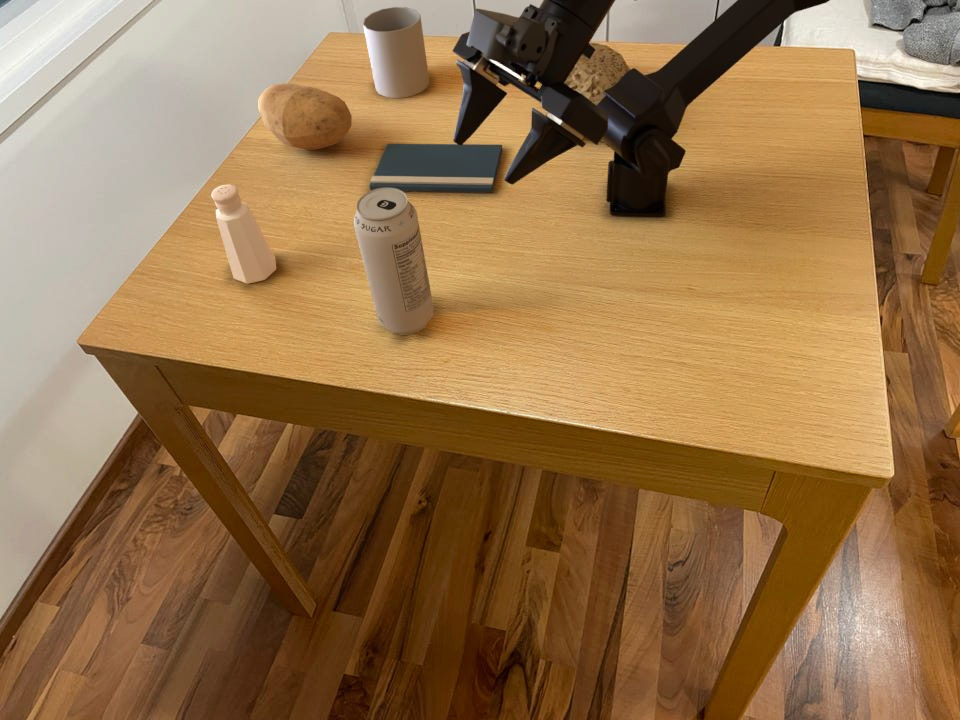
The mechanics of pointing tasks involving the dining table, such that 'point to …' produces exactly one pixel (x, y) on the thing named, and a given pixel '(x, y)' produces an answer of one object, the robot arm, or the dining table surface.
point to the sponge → (597, 73)
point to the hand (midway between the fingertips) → (481, 162)
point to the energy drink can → (394, 260)
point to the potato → (304, 115)
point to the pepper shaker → (242, 237)
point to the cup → (397, 51)
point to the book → (438, 168)
